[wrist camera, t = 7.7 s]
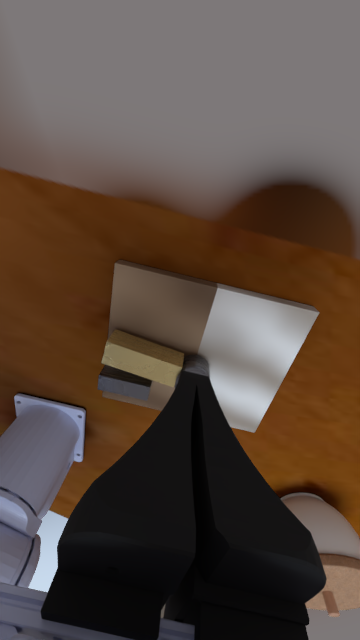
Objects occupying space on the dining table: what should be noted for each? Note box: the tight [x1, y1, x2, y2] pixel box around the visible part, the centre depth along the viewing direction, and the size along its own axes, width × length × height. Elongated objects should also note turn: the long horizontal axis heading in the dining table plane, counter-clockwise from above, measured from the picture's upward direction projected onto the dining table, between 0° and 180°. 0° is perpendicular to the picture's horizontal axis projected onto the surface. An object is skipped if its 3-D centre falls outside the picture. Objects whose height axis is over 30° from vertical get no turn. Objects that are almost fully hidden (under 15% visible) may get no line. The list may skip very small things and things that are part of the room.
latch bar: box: [102, 329, 210, 388], centre depth 20 cm, size 9×3×3 cm, turn 70°
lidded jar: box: [280, 492, 360, 617], centre depth 28 cm, size 11×11×9 cm
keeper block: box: [98, 364, 153, 401], centre depth 22 cm, size 2×4×2 cm, turn 78°
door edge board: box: [102, 260, 319, 433], centre depth 22 cm, size 14×16×1 cm
